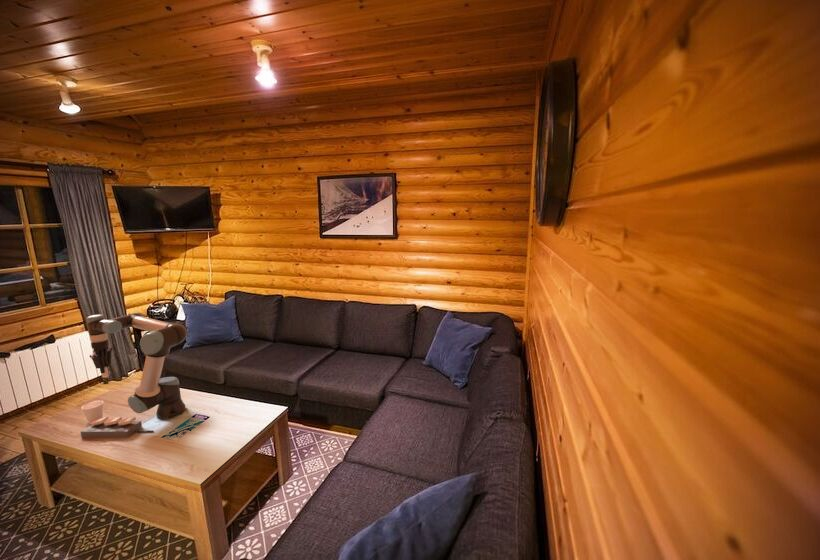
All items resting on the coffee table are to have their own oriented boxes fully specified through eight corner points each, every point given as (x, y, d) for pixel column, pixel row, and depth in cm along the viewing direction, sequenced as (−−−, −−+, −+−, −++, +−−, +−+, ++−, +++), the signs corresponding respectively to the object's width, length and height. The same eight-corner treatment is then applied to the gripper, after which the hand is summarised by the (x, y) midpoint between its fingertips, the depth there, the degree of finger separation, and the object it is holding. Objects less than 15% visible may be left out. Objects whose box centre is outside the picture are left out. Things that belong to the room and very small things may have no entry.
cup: (92, 427, 197) (89, 410, 195) (79, 425, 199) (76, 408, 197) (110, 417, 206) (107, 401, 204) (98, 415, 208) (95, 399, 206)
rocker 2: (122, 419, 194) (121, 416, 194) (116, 423, 190) (115, 420, 190) (111, 421, 194) (110, 419, 194) (104, 425, 191) (103, 423, 190)
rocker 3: (136, 419, 194) (135, 416, 194) (130, 423, 190) (129, 420, 190) (124, 421, 195) (123, 418, 194) (118, 425, 191) (117, 423, 190)
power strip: (159, 426, 197) (158, 419, 196) (146, 437, 187) (145, 429, 186) (98, 427, 197) (96, 419, 196) (81, 438, 187) (80, 429, 186)
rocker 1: (108, 419, 194) (107, 416, 194) (102, 423, 190) (101, 420, 190) (97, 421, 194) (96, 419, 194) (91, 426, 191) (89, 423, 190)
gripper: (102, 336, 205) (108, 372, 209) (82, 344, 192) (89, 382, 196) (115, 336, 205) (120, 372, 209) (95, 344, 192) (102, 382, 196)
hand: (105, 377), depth 203 cm, fingers closed
